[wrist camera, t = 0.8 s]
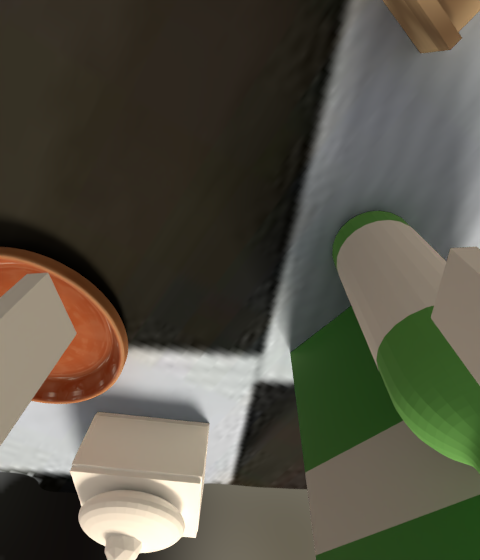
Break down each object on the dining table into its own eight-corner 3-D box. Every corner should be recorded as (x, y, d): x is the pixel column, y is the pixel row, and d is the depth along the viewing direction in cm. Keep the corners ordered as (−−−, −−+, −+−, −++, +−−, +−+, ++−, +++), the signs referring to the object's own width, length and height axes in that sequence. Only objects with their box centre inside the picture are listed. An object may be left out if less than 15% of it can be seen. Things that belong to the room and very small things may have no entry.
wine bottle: (369, 286, 36) (635, 780, 11) (314, 253, 34) (479, 758, 9) (424, 232, 33) (1018, 785, 7) (366, 191, 31) (894, 750, 5)
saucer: (-96, 287, 39) (-126, 306, 36) (39, 203, 33) (17, 217, 30) (45, 399, 50) (31, 421, 47) (168, 352, 43) (161, 373, 40)
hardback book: (407, 262, 34) (624, 530, 14) (447, 299, 37) (683, 576, 17) (290, 352, 42) (322, 611, 22) (329, 379, 44) (391, 634, 24)
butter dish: (209, 421, 51) (193, 546, 38) (204, 480, 61) (189, 596, 47) (96, 410, 51) (39, 532, 37) (109, 471, 60) (67, 585, 47)
